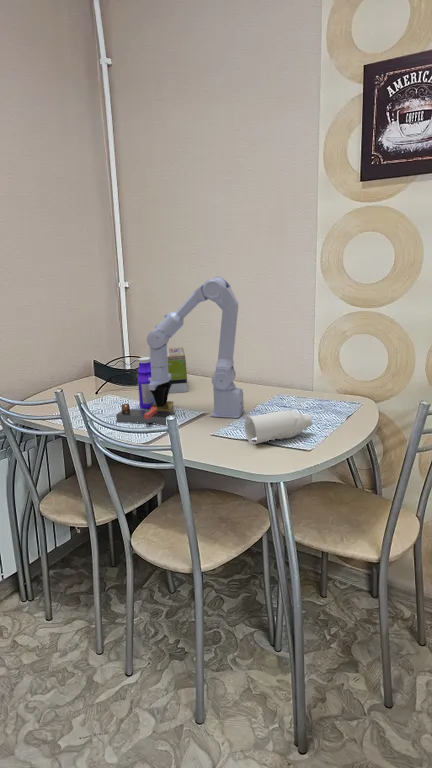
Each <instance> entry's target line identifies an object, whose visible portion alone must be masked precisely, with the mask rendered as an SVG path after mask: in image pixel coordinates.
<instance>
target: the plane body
mask: <svg viewBox="0 0 432 768" xmlns="http://www.w3.org/2000/svg"><path fill="white" fill-rule="evenodd" d="M150 410H151V409H148V410H147V409H132V408H131V407H130V403H123V404H121V410H120V412H118V413H117V414H115V415H116V416H115V417H116V423H125V422H136V423H135V424H140V423H157V424H162V425H161V426H167V425H166V417H167V416H169V415H175V416H176V412H175V411H172V412H169V411H157V414H155V415H153V416H152V417H151V418H149V419H144V414H146V413H147V412H148V411H150ZM137 422H138V423H137Z"/></svg>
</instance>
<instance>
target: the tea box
mask: <svg viewBox="0 0 432 768" xmlns="http://www.w3.org/2000/svg"><path fill="white" fill-rule="evenodd" d="M184 350H185V349H184V348H183V347H182V346H181V347H167V354H168V372H169V373H170V374H171V379H170V380H169V382H171V383H172V385H171V387H170V390H169V393H168V394H177V393H187V392H188V391H189V390H188V389H189V388H188V375H187V374H188V373H187V362H186V360H187V359H186V354H185V351H184Z"/></svg>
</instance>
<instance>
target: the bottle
mask: <svg viewBox="0 0 432 768" xmlns="http://www.w3.org/2000/svg"><path fill="white" fill-rule="evenodd" d="M136 372H137V373H138V375H137V390H138V398H139V400H138V401H139V406H140V408H141V409H142V410H147V409H148V410H150V409H151V407H152V404H153V403H155V399H154V396H153V394H152V393H151V391H150V390H149V387H148V384H150V381H148V379H149V378H151V363H150V356H141V357H139V358H138V369H137V370H136ZM149 408H150V409H149Z"/></svg>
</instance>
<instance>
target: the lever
mask: <svg viewBox="0 0 432 768" xmlns="http://www.w3.org/2000/svg"><path fill="white" fill-rule="evenodd" d="M149 410H150V411H148V412H147V413H146V414H144V419H149V418H151V417H152V416H153V415H155V414H157V407H151V408H150V409H149Z"/></svg>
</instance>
